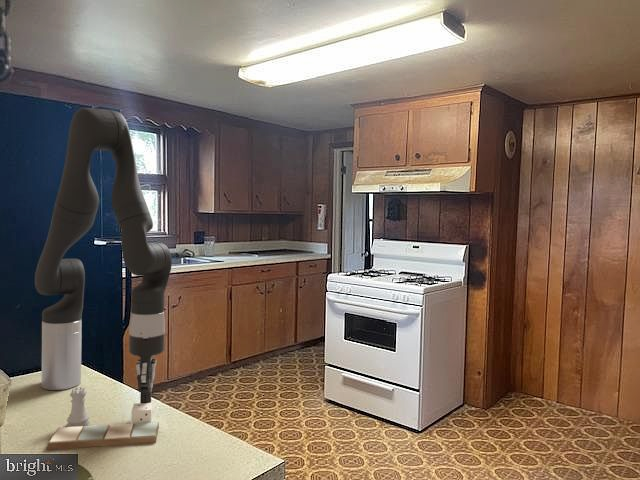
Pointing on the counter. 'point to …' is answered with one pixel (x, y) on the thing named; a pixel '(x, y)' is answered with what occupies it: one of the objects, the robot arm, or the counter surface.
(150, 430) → the board
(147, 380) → the robot arm
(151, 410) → the die
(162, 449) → the counter surface
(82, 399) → the rook chess piece
